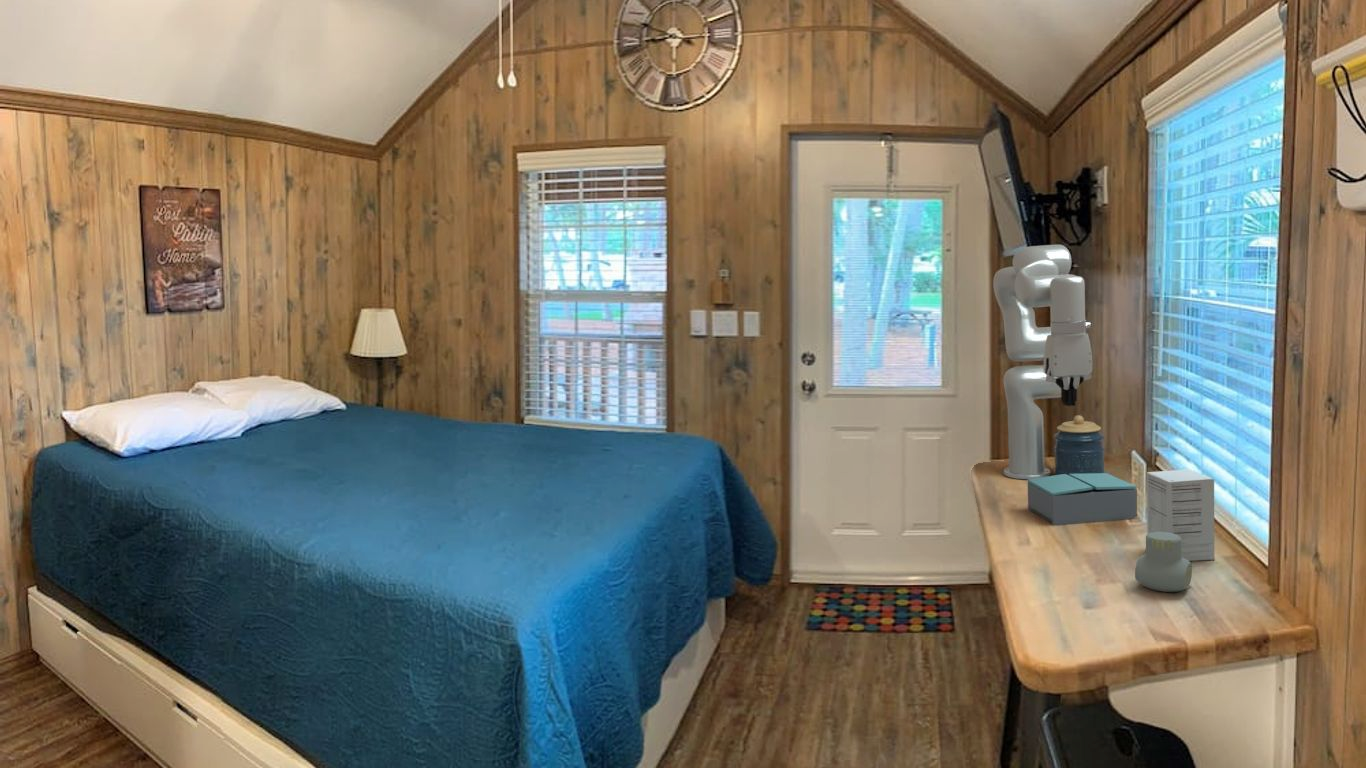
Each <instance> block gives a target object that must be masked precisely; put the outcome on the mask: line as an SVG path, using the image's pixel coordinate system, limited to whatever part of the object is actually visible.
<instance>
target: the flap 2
mask: <svg viewBox="0 0 1366 768" xmlns="http://www.w3.org/2000/svg"><path fill="white" fill-rule="evenodd" d="M1069 476H1071V477H1073V478H1075V479H1077V480H1079V481H1081V482H1083V483H1085V484H1087V485H1089V486H1092V487H1093V488H1094V489H1096V490H1101V489H1137V488H1138V487H1137V485H1134V484H1132V483H1130V482H1128V481H1126V480H1123V479H1121V478H1118V477H1117V476H1114V475H1112V474H1110V473H1107V472H1105V473H1088V474H1069Z"/></svg>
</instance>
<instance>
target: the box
mask: <svg viewBox="0 0 1366 768" xmlns="http://www.w3.org/2000/svg"><path fill="white" fill-rule="evenodd" d="M1027 509H1028V510H1029V511H1030V512H1031V513H1034V514H1036V516H1038V517H1040V518H1042V519H1043V520H1044V521H1046V522H1048V523H1049V524H1051V525H1052V526H1059V525H1060V526H1061V525H1074V524H1075V525H1076V524H1083V523H1082V522H1087V523H1095V522H1094V521H1099V522H1109V521H1110V522H1111V521H1121V520H1132V519H1131V518H1135V517H1137V518H1138V490H1137V488H1136V489H1101V490H1096V489H1094V488H1093V490H1087V491H1080V492H1073V493H1067V494H1060V495H1054V496H1052V495H1051V494H1049V493H1047V492H1045V491H1043V490H1042V489H1040V488H1038V487H1036V486H1034V485H1033V484H1031V483H1029V482H1028V481H1027ZM1135 519H1136V518H1135Z"/></svg>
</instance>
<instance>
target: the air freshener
mask: <svg viewBox="0 0 1366 768" xmlns="http://www.w3.org/2000/svg"><path fill="white" fill-rule="evenodd" d="M1134 570H1135V571H1134V578H1135V580H1136V582H1137V583H1138V584H1140V585H1142V586H1143V587H1145V588H1148V589H1150V590H1153V591H1157V592H1162V593H1163V592H1165V593H1175V592H1180V591H1184V590H1186V589H1188V588H1189V586H1190V584H1191V581H1192V576H1193V565H1192V562H1191V561H1188V560H1186V559H1185V558H1183V557H1182V544H1181V537H1180V536H1178V535H1177V534H1174V533H1169V532H1151V533H1149V534H1146V535H1145V554H1142V555H1140V556H1139V557H1138V558H1137V560H1136V564H1135V568H1134Z"/></svg>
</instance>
